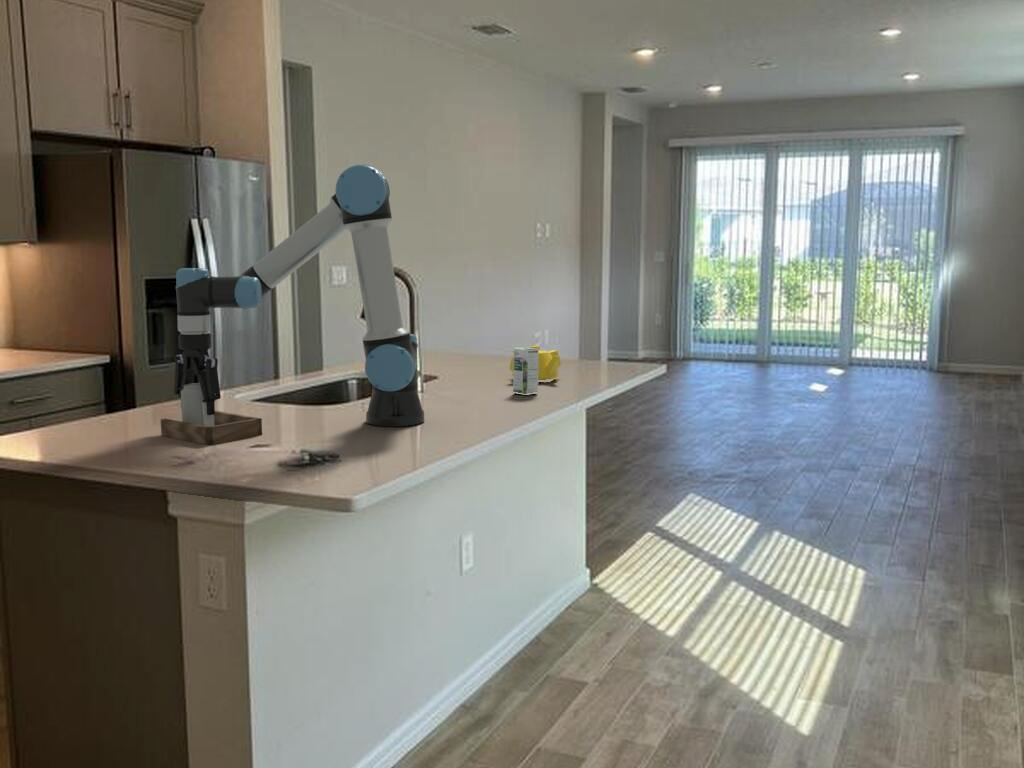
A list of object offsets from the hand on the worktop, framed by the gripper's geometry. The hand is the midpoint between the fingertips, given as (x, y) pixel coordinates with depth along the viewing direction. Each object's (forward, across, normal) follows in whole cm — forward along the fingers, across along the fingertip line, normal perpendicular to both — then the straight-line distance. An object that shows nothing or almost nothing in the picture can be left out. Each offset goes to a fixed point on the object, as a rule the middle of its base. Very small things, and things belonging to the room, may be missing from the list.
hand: (198, 425), depth 236 cm
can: (+2, 0, 0) cm, 2 cm away
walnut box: (+2, -5, 0) cm, 5 cm away
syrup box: (+2, -28, -99) cm, 103 cm away
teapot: (+2, -13, -126) cm, 127 cm away
